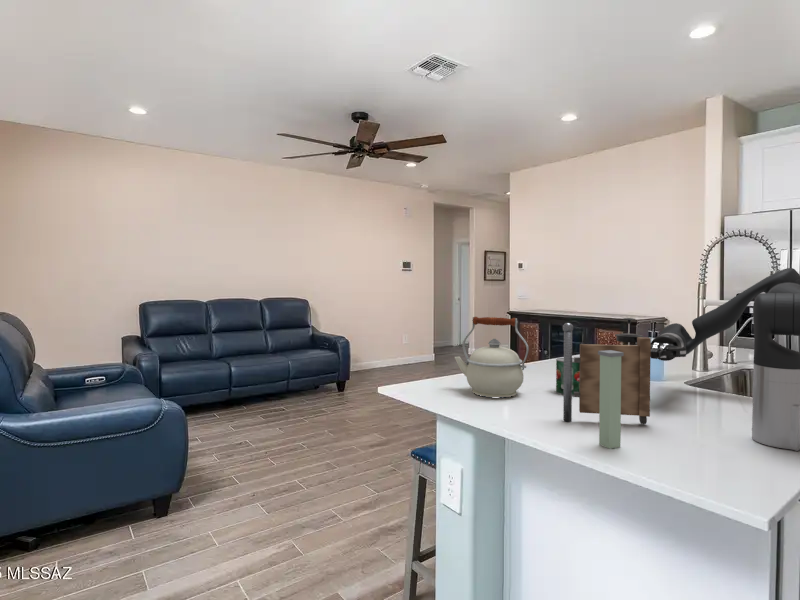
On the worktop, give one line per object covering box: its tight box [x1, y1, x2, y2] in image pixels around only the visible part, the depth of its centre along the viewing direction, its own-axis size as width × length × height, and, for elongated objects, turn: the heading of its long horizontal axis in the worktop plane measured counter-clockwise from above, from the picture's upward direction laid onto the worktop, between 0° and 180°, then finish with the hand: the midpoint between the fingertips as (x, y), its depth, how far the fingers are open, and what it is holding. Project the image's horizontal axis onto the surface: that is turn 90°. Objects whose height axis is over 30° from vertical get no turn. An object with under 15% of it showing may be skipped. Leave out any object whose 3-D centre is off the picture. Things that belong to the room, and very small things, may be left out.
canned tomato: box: [555, 357, 580, 397], centre depth 147 cm, size 8×8×11 cm
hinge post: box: [562, 322, 574, 423], centre depth 117 cm, size 3×3×26 cm
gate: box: [573, 336, 652, 425], centre depth 115 cm, size 18×3×22 cm, turn 78°
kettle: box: [454, 316, 530, 398], centre depth 148 cm, size 25×18×25 cm
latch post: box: [598, 350, 624, 450], centre depth 99 cm, size 4×4×21 cm
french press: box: [614, 317, 644, 345], centre depth 163 cm, size 12×9×23 cm
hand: (653, 354), depth 123 cm, fingers closed
